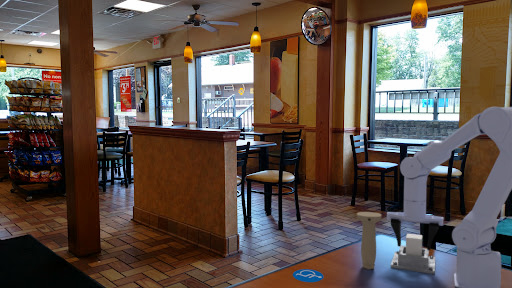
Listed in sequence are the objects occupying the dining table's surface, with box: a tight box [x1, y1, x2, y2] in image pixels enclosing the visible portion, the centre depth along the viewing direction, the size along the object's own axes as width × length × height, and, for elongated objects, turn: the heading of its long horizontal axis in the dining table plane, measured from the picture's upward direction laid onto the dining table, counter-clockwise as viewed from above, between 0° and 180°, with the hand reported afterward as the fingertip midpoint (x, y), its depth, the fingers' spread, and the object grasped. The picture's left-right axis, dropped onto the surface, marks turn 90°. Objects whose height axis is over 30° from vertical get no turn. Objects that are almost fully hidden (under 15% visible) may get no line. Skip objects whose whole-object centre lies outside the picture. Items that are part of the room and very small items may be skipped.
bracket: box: [390, 245, 436, 275], centre depth 108 cm, size 11×11×4 cm
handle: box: [356, 211, 382, 270], centre depth 105 cm, size 5×6×15 cm
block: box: [405, 233, 423, 256], centre depth 108 cm, size 4×4×7 cm
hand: (413, 247), depth 108 cm, fingers open, 7 cm apart
